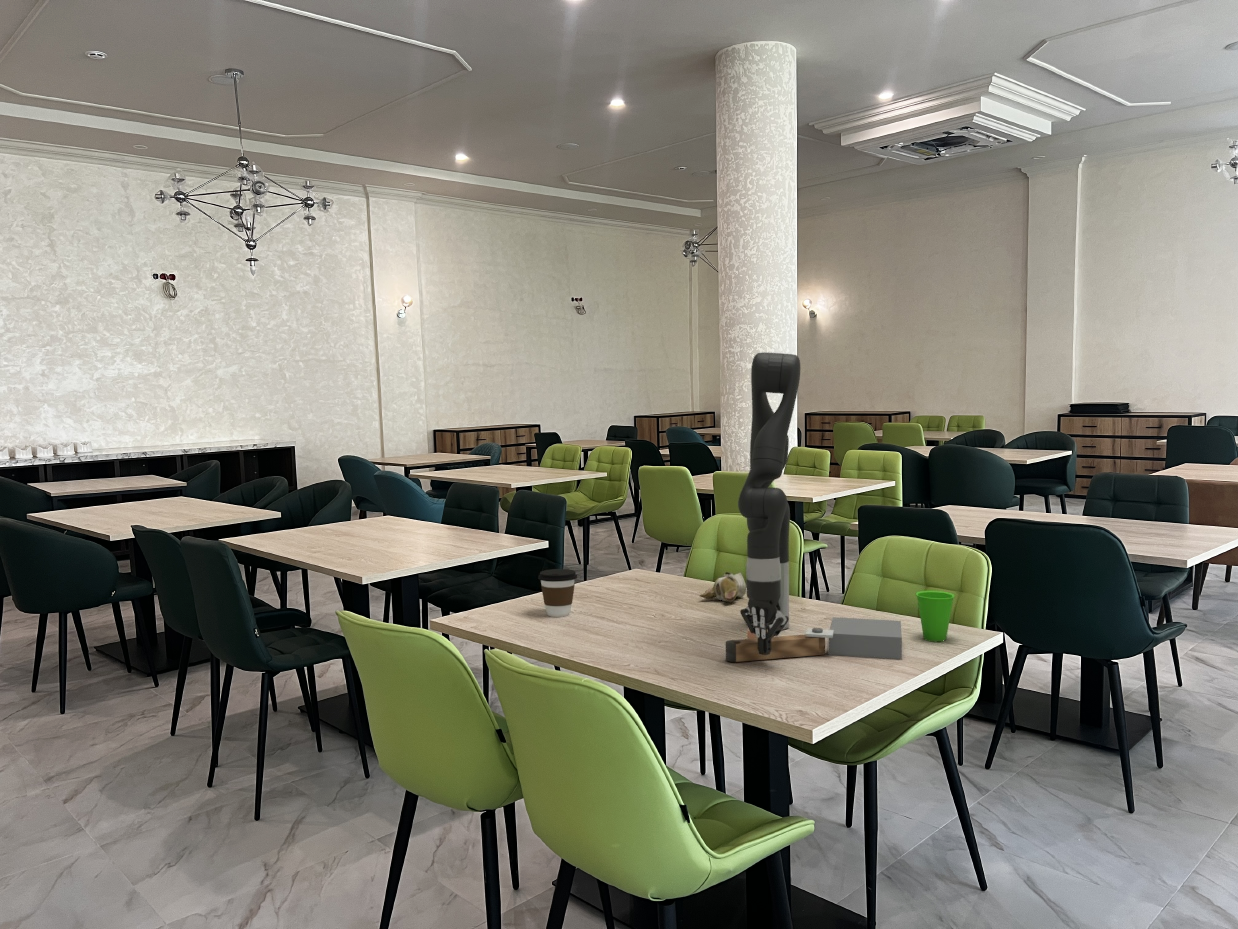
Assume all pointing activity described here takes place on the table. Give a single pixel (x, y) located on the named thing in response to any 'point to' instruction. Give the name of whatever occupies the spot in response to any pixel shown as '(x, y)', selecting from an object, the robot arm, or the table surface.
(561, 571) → the coffee cup
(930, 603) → the cup
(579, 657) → the table surface
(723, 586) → the ceramic sculpture
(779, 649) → the leg
